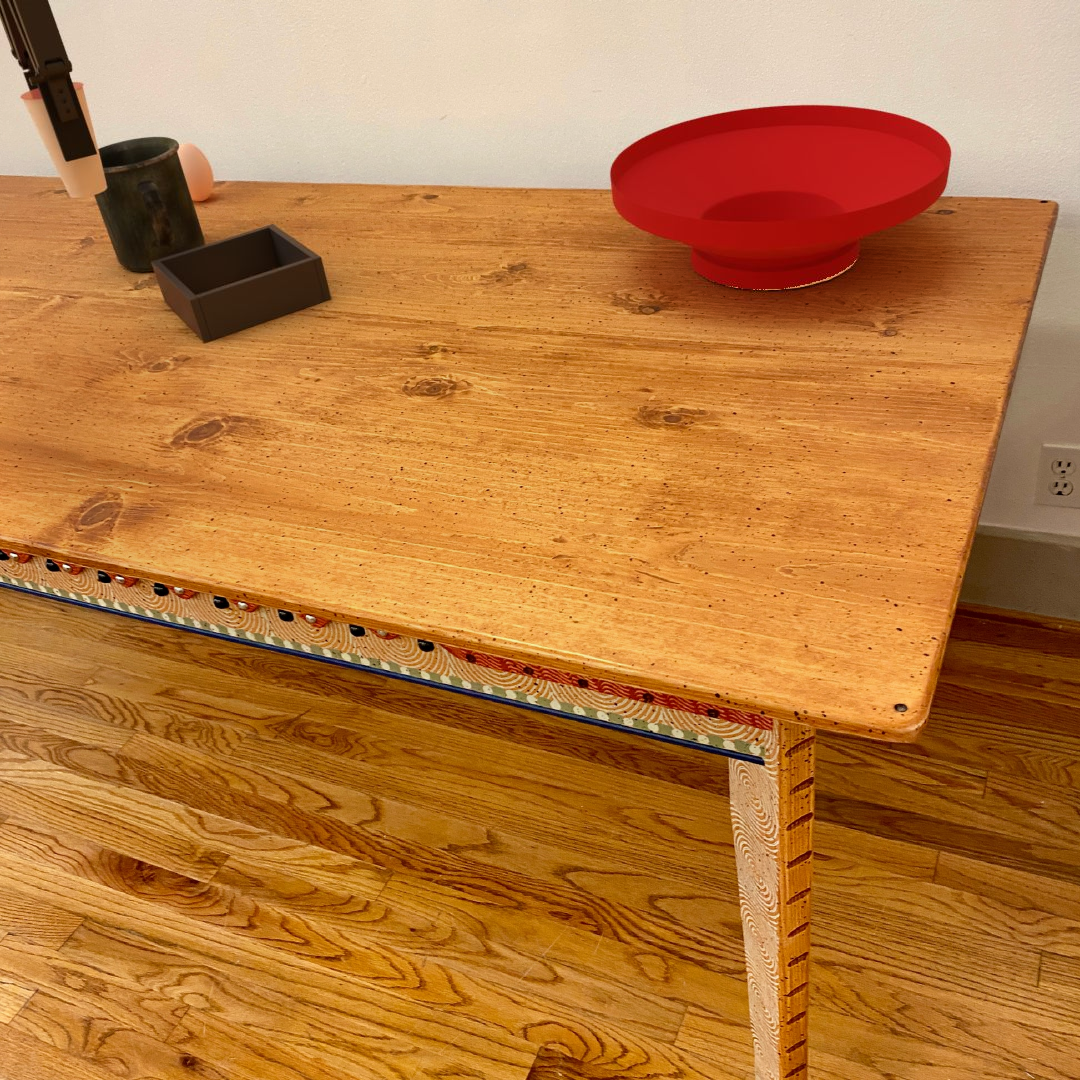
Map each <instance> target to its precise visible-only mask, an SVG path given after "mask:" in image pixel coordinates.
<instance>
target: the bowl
mask: <svg viewBox="0 0 1080 1080" xmlns="http://www.w3.org/2000/svg"><path fill="white" fill-rule="evenodd" d="M951 160H952V149H951V144H950V143H949V142H948V140H947V139H946V137H945V136H943V134H941V133H940V132H939V131H937V130H936V129H934V128H933V127H932V126H929V125H928V124H926V123H923V122H921V121H919V120H916V119H913V118H910V117H907V116H904V115H901V114H898V113H893V112H889V111H884V110H879V109H872V108H867V107H866V108H865V107H857V106H848V105H847V106H845V105H833V104H832V105H831V104H794V105H791V104H790V105H774V106H773V105H772V106H762V107H761V106H760V107H752V108H745V109H744V108H743V109H737V110H730V111H725V112H717V113H714V114H709V115H703V116H700V117H697V118H692V119H689V120H685V121H681V122H678V123H676V124H672V125H669V126H666V127H664V128H661V129H658V130H656V131H653V132H651V133H649V134H647V135H645V136H643V137H641V138H640V139H638V140H636V141H634V142H632V143H631V144H630V145H628V146H627V147H625V148H624V149H623V150H622V151H621V152H620V153H619V154H617V156H616V158H615V159H614V160H613V161H612V163H611V167H610V170H609V177H610V179H609V180H610V186H611V187H610V188H611V197H612V198H611V199H612V203H613V207H614V208H615V211H616V212H617V213H618V214H619V215H620V216H621V217H622V219H623V220H625V221H626V222H628V223H629V224H631V225H632V226H634V227H635V228H637V229H639V230H641V231H644V232H646V233H647V234H651V235H654V236H656V237H659V238H663V239H667V240H670V241H674V242H680V243H683V244H685V245H686V246H688V247H690V264H691V267H692V269H693V270H694V271H695V273H697V274H698V275H699V274H700V275H699V276H701V275H702V276H703V277H706V278H707V279H708V280H711V281H714V282H717V283H718V284H717V283H716V284H717V285H720V284H724V285H727V286H731V287H732V286H733V287H738V288H741V289H740V290H743V289H752V290H751V291H753V289H755V290H757V289H758V290H759V289H761V290H763V289H764V290H765V289H784V288H785V289H786V288H788V287H789V288H790V287H795V286H796V287H797V286H800V285H805V284H810V283H812V282H816V281H820V280H823V279H826V278H827V277H831V276H834V275H835V274H838V273H839V272H841V271H843V270H845V269H846V268H847V267H849V266H850V265H852V264H853V263H854V261H855V260H856V259H857V258H858V255H859V256H860V254H859V252H861V251H860V240H862V239H863V238H865V237H867V236H869V235H871V234H874V233H877V232H881V231H884V230H887V229H889V228H892V227H895V226H899V225H900V224H902V223H905V222H907V221H909V220H911V219H913V218H915V217H916V216H918V215H920V214H922V213H924V212H925V211H926V210H928V209H929V208H930V207H931V206H933V205H934V204H935V203H936V202H937V201H938V200H939V199H940V198H941V197H942V195H943V194H944V192H945V190H946V189H947V184H948V181H949V173H950V166H951ZM858 259H859V258H858ZM702 276H701V277H702ZM703 277H702V278H703ZM708 280H707V281H708ZM711 281H710V282H711ZM714 282H713V283H714ZM727 286H726V287H727ZM742 288H743V289H742Z"/></svg>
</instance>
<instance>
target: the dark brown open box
mask: <svg viewBox="0 0 1080 1080" xmlns="http://www.w3.org/2000/svg"><path fill="white" fill-rule="evenodd" d="M151 264H152V266H153V269H154V271H153V272H154V275H155V278H156V281H157V283H158V286H159V290H160V292H161V295H162V298H163V301H164V303H165V304H166V305H167V306H168V307H169V308H170V309H171V310H172V311H173V312H174V313H175V314H176V315H177V316H178V317H179V318H180V319H181V320H182V321H183V323H185V324H186V326H187V327H189V329H190V330H191V331H192V332H193V333H194V334H195V335H196V336H197V337H198V338H199V339H200V340H201V342H203V344H204V343H208V342H211V341H213V340H217V339H219V338H223V337H225V336H228V335H231V334H234V333H237V332H239V331H243V330H246V329H248V328H252V327H254V326H257V325H260V324H263V323H266V322H268V321H271V320H274V319H277V318H281V317H283V316H286V315H289V314H292V313H295V312H298V311H300V310H303V309H306V308H309V307H312V306H315V305H318V304H321V303H323V302H326V301H328V300H329V301H330V300H332V295H331V291H330V286H329V283H328V278H327V276H326V271H325V266H324V263H323V259H322V257H321V256H320V255H319V254H317V252H314V251H313V250H311V249H310V248H308V247H307V246H306V245H304V244H303V243H301V242H300V241H299V240H297V239H296V238H294V237H293V236H292V235H290V234H288V233H287V232H285V230H282V229H281V228H280V227H278V226H277V225H275V224H274V223H271V224H268V225H265V226H261V227H258V228H254V229H252V230H249V231H244V232H242V233H238V234H235V235H233V236H229V237H226V238H223V239H219V240H216V241H213V242H209V243H207V244H206V243H205V244H204V245H203V246H200V247H197V248H193V249H190V250H187V251H184V252H181V253H177V254H174V255H171V256H168V257H164V258H161V259H159V260H155V261H152V262H151Z"/></svg>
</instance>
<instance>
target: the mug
mask: <svg viewBox="0 0 1080 1080" xmlns="http://www.w3.org/2000/svg"><path fill="white" fill-rule="evenodd" d="M179 146H180V144H179V142H178V141H177V140H176V139H174V138H171V137H168V136H167V137H166V136H145V137H139V138H131V139H126V140H122V141H118V142H114V143H111V144H108V145H104V146H102V147H98V150H99V154H100V159H101V163H102V167H103V172H104V176H105V180H106V185H107V189H106V190H105V191H103V192H101V193H99V194H96V195H93V197H94V199H95V202H96V204H97V207H98V210H99V213H100V215H101V218H102V221H103V224H104V226H105V229H106V231H107V234H108V237H109V239H110V243H111V246H112V248H113V251H114V254H115V256H116V259H117V262H118V264H119V265H121V266H122V267H123V268H124V269H126V270H128V271H131V272H154V269H153V266H152V264H151V262H152V261H155V260H159V259H161V258H164V257H168V256H171V255H174V254H177V253H181V252H184V251H187V250H190V249H193V248H197V247H200V246H203V245H206V239H205V236H204V233H203V230H202V227H201V223H200V221H199V217H198V214H197V211H196V208H195V204H194V202H193V201H194V200H192V198H191V194H190V191H189V188H188V185H187V182H186V178H185V175H184V172H183V169H182V166H181V162H180V159H179V156H178V152H177V151H178V149H179Z"/></svg>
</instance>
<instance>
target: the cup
mask: <svg viewBox="0 0 1080 1080" xmlns="http://www.w3.org/2000/svg"><path fill="white" fill-rule="evenodd" d="M72 82H73V85H74V88H75V91H76V94H77V97H78V100H79V103H80V105H81V108H82V111H83V114H84V117H85V120H86V123H87V126H88V128H89V131H90V134H91V137H92V140H93V143H94V146H95V149H96V151H97V154H96V155H92V156H88V157H84V158H80V159H77V160H73V161H69V162H66V161H65V159H64V157H63V154H62V151H61V148H60V146H59V143H58V140H57V138H56V135H55V132H54V129H53V127H52V124H51V121H50V118H49V116H48V113H47V110H46V107H45V105H44V102H43V99H42V97H41V94H40V91H39V88H37V89H34V90H31V91H30V90H29V91H25V92H24V93H22V94H21V95H20V97H19V98H20V99H21V100H23V103H24V104H25V107H26V109H27V111H28V113H29V115H30V117H31V119H32V121H33V123H34V125H35V127H36V130H37V132H38V134H39V136H40V139H41V140H42V142H43V144H44V147H45V149H46V151H47V152H48V155H49V156H50V159H51V161H52V163H53V165H54V167H55V169H56V171H57V174H58V175H59V178H60V179H61V181H62V184H63V185H64V188H65V190H66V191H67V193H68V195H69V197H70V198H74V199H81V198H82V199H83V198H89V197H93V196H94V195H96V194H99V193H101V192H103V191H105V190H106V189H107V185H106V180H105V176H104V172H103V167H102V163H101V159H100V154H99V150H98V149H99V146H98V143H97V139H96V134H95V130H94V127H93V126H94V125H93V123H92V118H91V114H90V110H89V106H88V103H87V99H86V95H85V90H84V83H83V82H78V81H72Z"/></svg>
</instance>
